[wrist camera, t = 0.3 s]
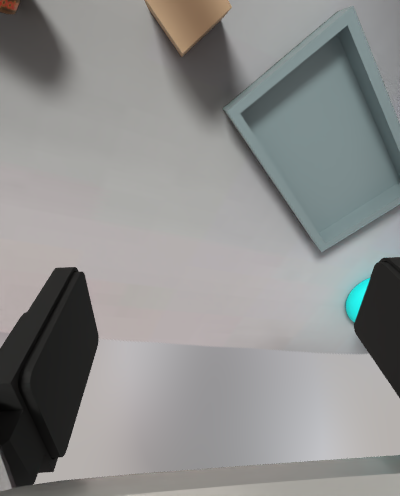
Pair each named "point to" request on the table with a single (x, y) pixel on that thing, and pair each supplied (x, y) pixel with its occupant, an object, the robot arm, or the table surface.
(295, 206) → the tray
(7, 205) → the table surface
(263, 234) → the table surface
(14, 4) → the tin
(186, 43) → the block
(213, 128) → the table surface
